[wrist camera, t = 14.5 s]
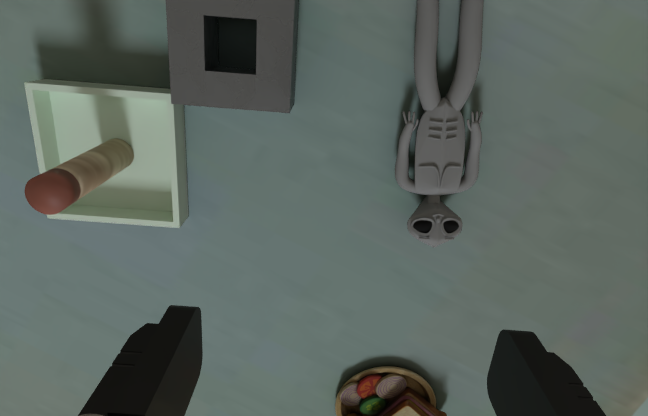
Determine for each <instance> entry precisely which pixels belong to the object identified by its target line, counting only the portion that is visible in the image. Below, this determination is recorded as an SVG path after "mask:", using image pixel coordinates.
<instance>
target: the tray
mask: <svg viewBox="0 0 648 416" xmlns="http://www.w3.org/2000/svg"><path fill="white" fill-rule="evenodd" d="M24 84H25V90H26V96H27V102H28V107H29V113H30V119H31V125H32V131H33V136H34V142H35V148H36V154H37V159H38V165H39V171H40V174H42V173H44V172H46V171H48V170H50V169H52V168H54V167H56V166H58V165H60V164H62V163H64V162H66V161H68V160H70V159H72V158H74V157H76V156H78V155H80V154H82V153H84V152H86V151H88V150H90V149H92V148H94V147H96V146H98V145H100V144H102V143H104V142H106V141H108V140H110V139H114V138H118V139H122V140H124V141H126V142H127V143H128V144H129V145H130V146H131V147H132V149H133V152H134V159H133V162H132V163H131V165H129V166H128V167H126V168H125V169H123V170H122V171H120V172H119V173H117V174H116V175H115V176H113V177H112V178H110V179H109V180H107V181H106V182H104V183H103V184H101V185H100V186H98V187H97V188H95V189H94V190H92V191H91V192H89V193H88V194H86V195H85V196H83V197H82V198H80V199H79V200H77V201H76V202H74V203H73V204H71V205H70V206H68V207H67V208H65V209H64V210H62V211H61V212H59V213H57V214H53V215H48V214H47V217H48V218H51V219H65V220H78V221H92V222H105V223H119V224H132V225H146V226H160V227H173V228H180V227H181V226H182V224H183V223H184V222H185V220H186V219H187V218H188V216H189V211H188V188H187V164H186V141H185V118H184V105H180V104H171V89H167V88H154V87H141V86H128V85H116V84H103V83H90V82H78V81H65V80H52V79H41V80H35V81H30V82H24Z"/></svg>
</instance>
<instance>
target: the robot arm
mask: <svg viewBox="0 0 648 416" xmlns="http://www.w3.org/2000/svg"><path fill="white" fill-rule="evenodd" d="M201 365H202V326H201V310H200V308H199V307H189V306H175V305H171V306H169V307H168V309H167V311H166V312H165V314H164V316H163V318H162V319H161V321H160V323H159V324H151V323H147V324H145V325H144V326H143V327H141V328H140V329H139V330H137V331H136V332H135V333H133V334H132V335H131V336H130V337H129V339H128V340H127V342H126V343H125V345H124V346H123V348H122V349H121V352H120V354H118V355H117V357H116V358H115V360H114V361H113V363H112V366H110V368H109V369H108V371H107V372H106V374H105V375H104V377H103V378H102V380H101V381H100V383H99V384H98V386H97V388H96V389H95V391H94V392H93V394H92V395H91V397H90V398H89V400H88V401H87V403H86V404H85V406H84V407H83V409H82V410H81V412H80V414H79V415H78V416H184V415H185V413H186V410H187V407H188V405H189V402H190V399H191V397H192V394H193V392H194V389H195V386H196V384H197V381H198V378H199V375H200V371H201ZM487 389H488V395H489V399H490V401H491V403H492V406H493V408H494V410H495V413H496V415H497V416H606V415H605V413H604V412H603V411H602V409H601V408H600V406H599V405H598V404H597V402H596V401H593V397H592V395H591V394H590V392H589V391H588V390H587V388H586V387H584V386H583V383H582V381H581V380H580V378H579V377H578V376H577V374H576V373H575V371H574V370H573V369H572V367H571V366H569V365H568V364H567V363H566V362H564V361H563V360H562V359H561V358H560V357H558V356H557V355H556V354H555V353H550V352H547V351H546V349H545V348H544V346H543V345H542V343H541V342H540V340H539V339H538V338H537V336H536V335H535V334H534V333H533V332H529V331H515V330H502V331H501V332H500V333H499V336H498V339H497V343H496V346H495V350H494V354H493V357H492V361H491V365H490V368H489V372H488V377H487Z"/></svg>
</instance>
